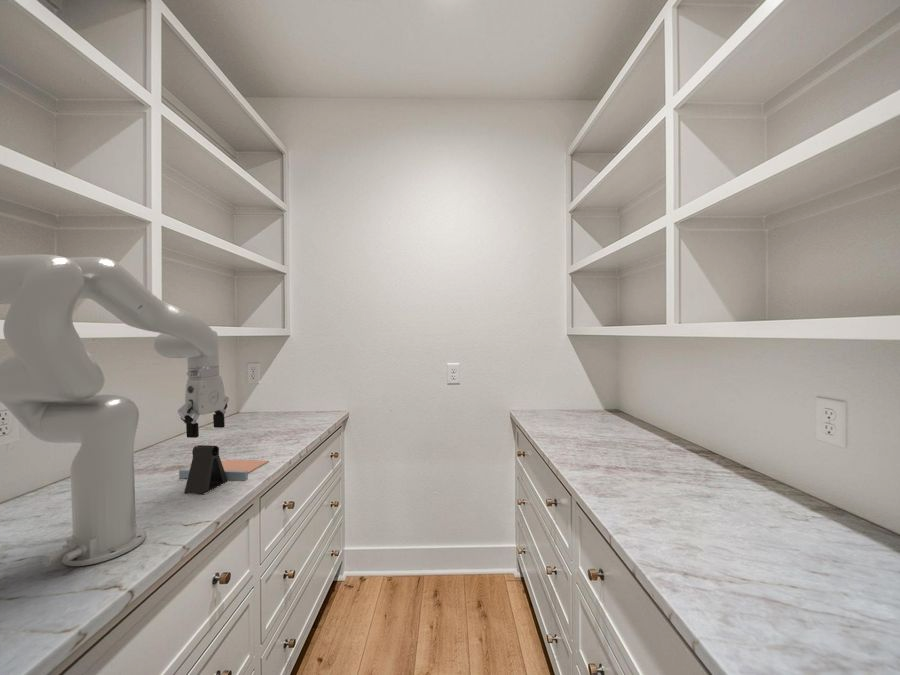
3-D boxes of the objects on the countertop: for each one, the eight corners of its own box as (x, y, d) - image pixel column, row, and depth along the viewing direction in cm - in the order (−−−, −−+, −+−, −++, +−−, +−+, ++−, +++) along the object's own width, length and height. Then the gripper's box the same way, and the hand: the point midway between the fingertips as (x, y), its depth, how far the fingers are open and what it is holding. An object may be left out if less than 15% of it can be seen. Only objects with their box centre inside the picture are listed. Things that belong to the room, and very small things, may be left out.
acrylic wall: (245, 480, 111) (244, 472, 111) (179, 478, 114) (179, 470, 114) (247, 479, 112) (247, 471, 112) (182, 476, 115) (182, 468, 115)
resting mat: (243, 476, 114) (242, 475, 114) (196, 474, 116) (196, 473, 116) (268, 461, 127) (268, 460, 127) (226, 460, 129) (226, 459, 129)
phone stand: (203, 494, 102) (202, 451, 102) (184, 493, 103) (182, 450, 102) (227, 481, 111) (226, 441, 110) (210, 480, 112) (209, 441, 111)
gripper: (190, 377, 97) (193, 441, 98) (237, 369, 114) (239, 424, 115) (165, 377, 98) (168, 441, 99) (214, 369, 115) (217, 423, 116)
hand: (206, 432), depth 107 cm, fingers open, 9 cm apart
